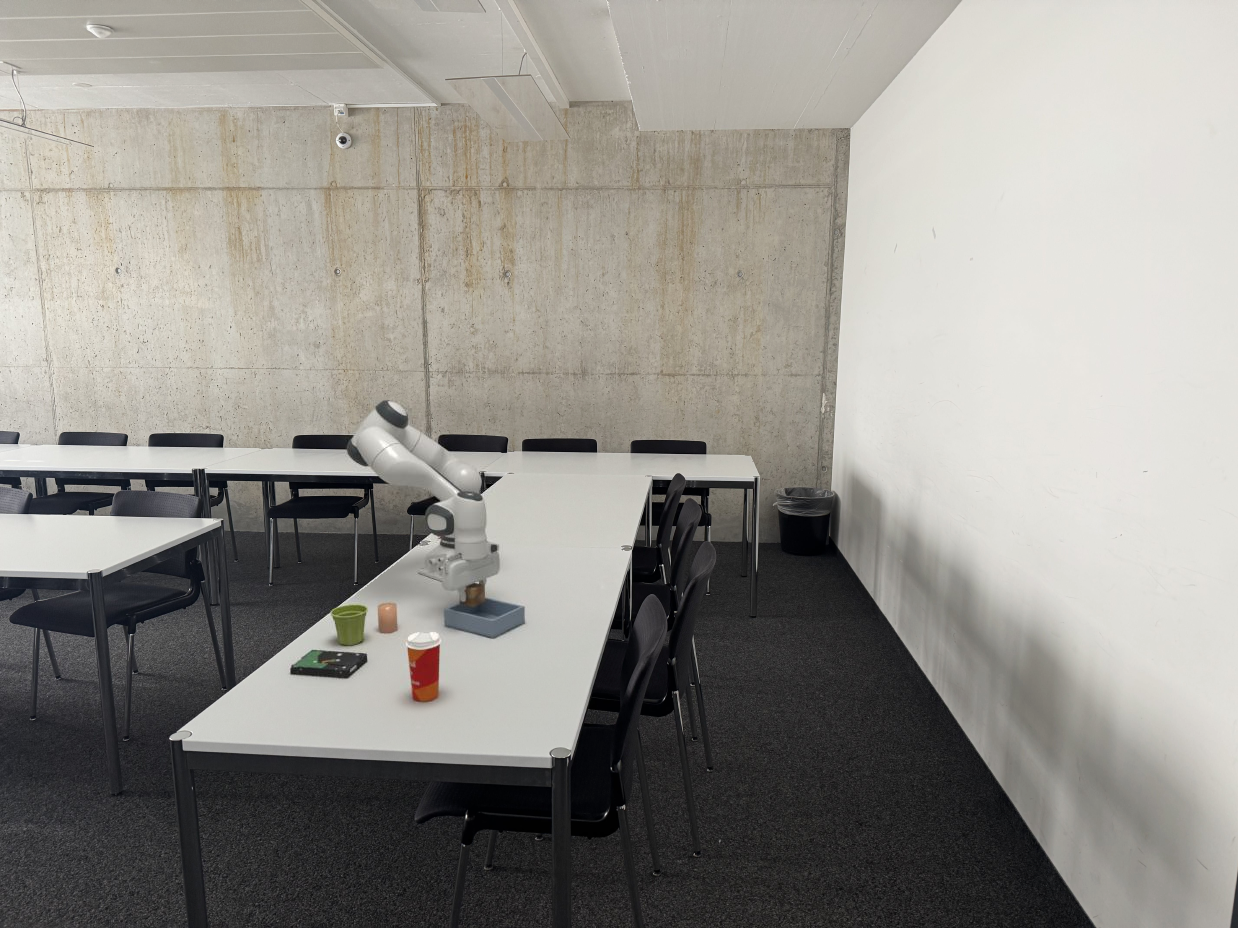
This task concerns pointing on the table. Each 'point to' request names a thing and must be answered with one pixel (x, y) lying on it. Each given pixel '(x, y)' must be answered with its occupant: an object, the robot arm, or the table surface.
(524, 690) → the table surface
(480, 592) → the walnut cube
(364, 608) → the plant pot
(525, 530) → the table surface
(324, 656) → the disk drive
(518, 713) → the table surface
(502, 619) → the tote
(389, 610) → the terracotta cylinder
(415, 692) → the paper cup
